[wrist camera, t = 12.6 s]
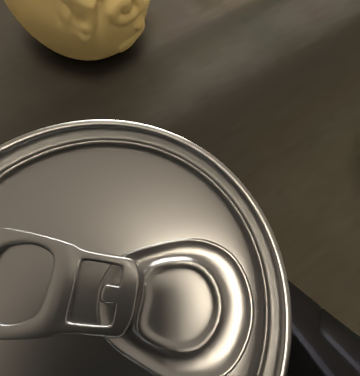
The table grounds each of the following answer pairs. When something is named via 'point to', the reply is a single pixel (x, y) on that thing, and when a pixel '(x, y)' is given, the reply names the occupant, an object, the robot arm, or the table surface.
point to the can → (134, 259)
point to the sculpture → (82, 25)
